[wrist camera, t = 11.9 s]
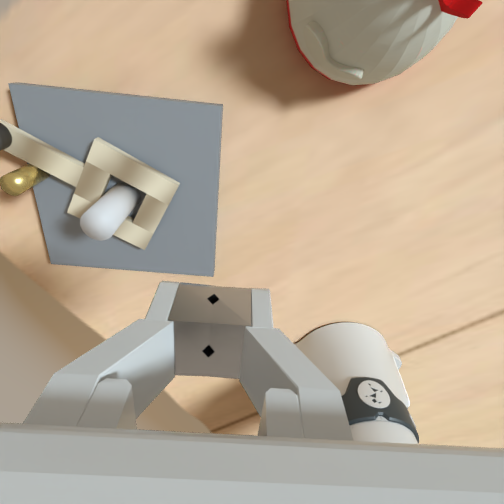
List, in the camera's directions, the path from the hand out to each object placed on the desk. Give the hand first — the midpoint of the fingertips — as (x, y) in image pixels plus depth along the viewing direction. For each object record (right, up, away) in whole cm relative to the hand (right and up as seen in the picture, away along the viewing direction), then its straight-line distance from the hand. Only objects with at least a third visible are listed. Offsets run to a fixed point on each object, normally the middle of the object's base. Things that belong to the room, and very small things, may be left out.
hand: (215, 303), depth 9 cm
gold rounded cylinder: (-21, +10, +26) cm, 35 cm away
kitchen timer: (+11, +24, +20) cm, 33 cm away
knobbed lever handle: (-17, +10, +26) cm, 32 cm away
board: (-13, +9, +29) cm, 32 cm away
